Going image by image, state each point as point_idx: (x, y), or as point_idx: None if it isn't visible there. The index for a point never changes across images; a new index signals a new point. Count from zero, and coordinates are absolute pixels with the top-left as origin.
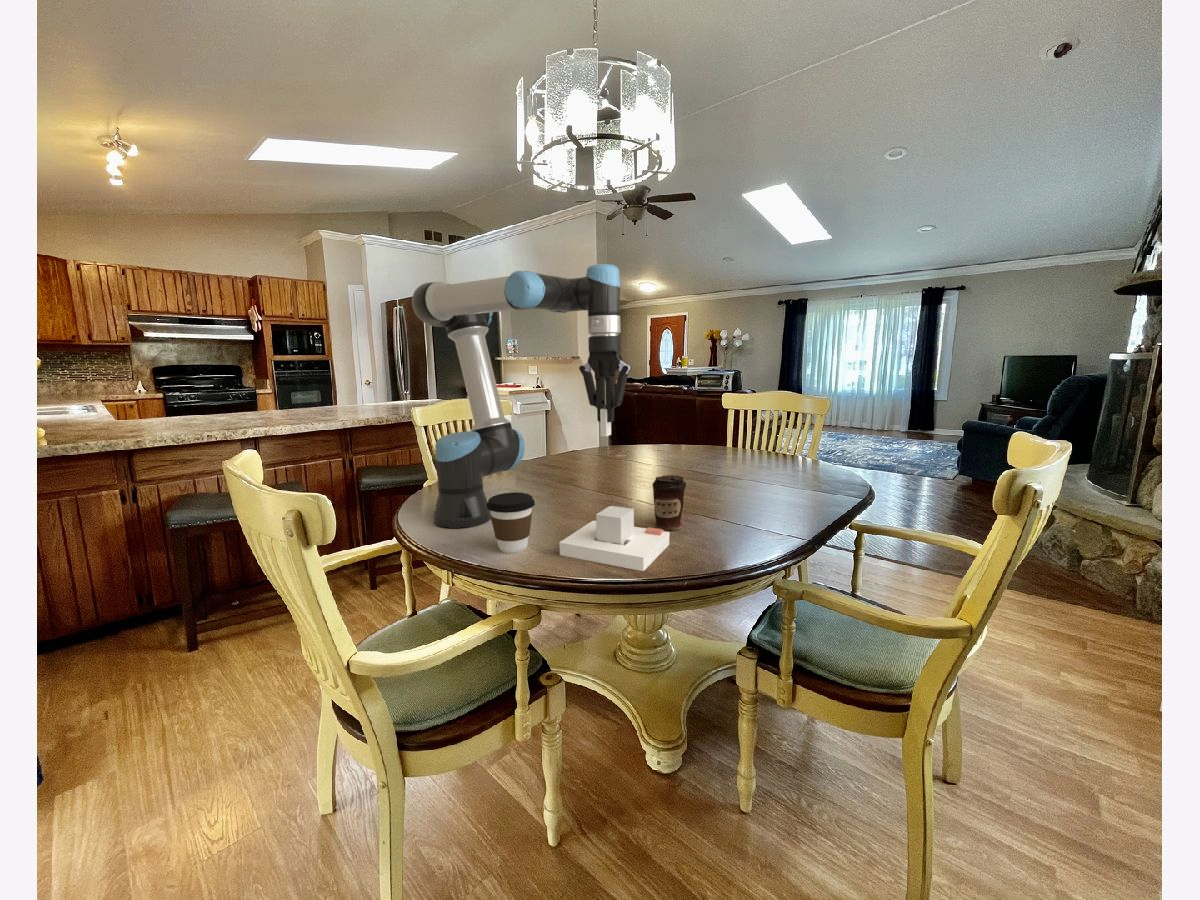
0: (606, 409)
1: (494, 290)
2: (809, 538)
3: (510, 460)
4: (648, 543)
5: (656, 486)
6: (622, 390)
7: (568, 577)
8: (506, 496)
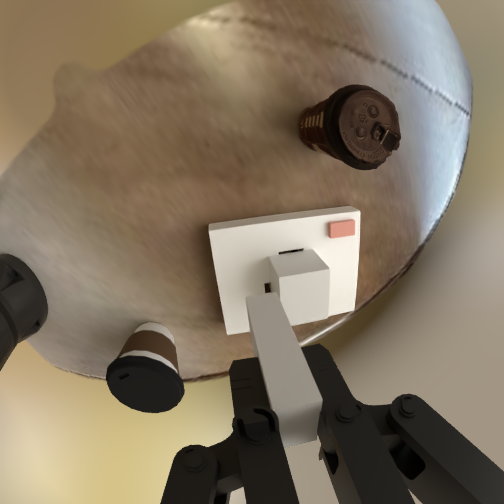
0: (317, 434)
1: None
2: (470, 108)
3: None
4: (346, 269)
5: (347, 163)
6: (470, 473)
7: None
8: (128, 388)
